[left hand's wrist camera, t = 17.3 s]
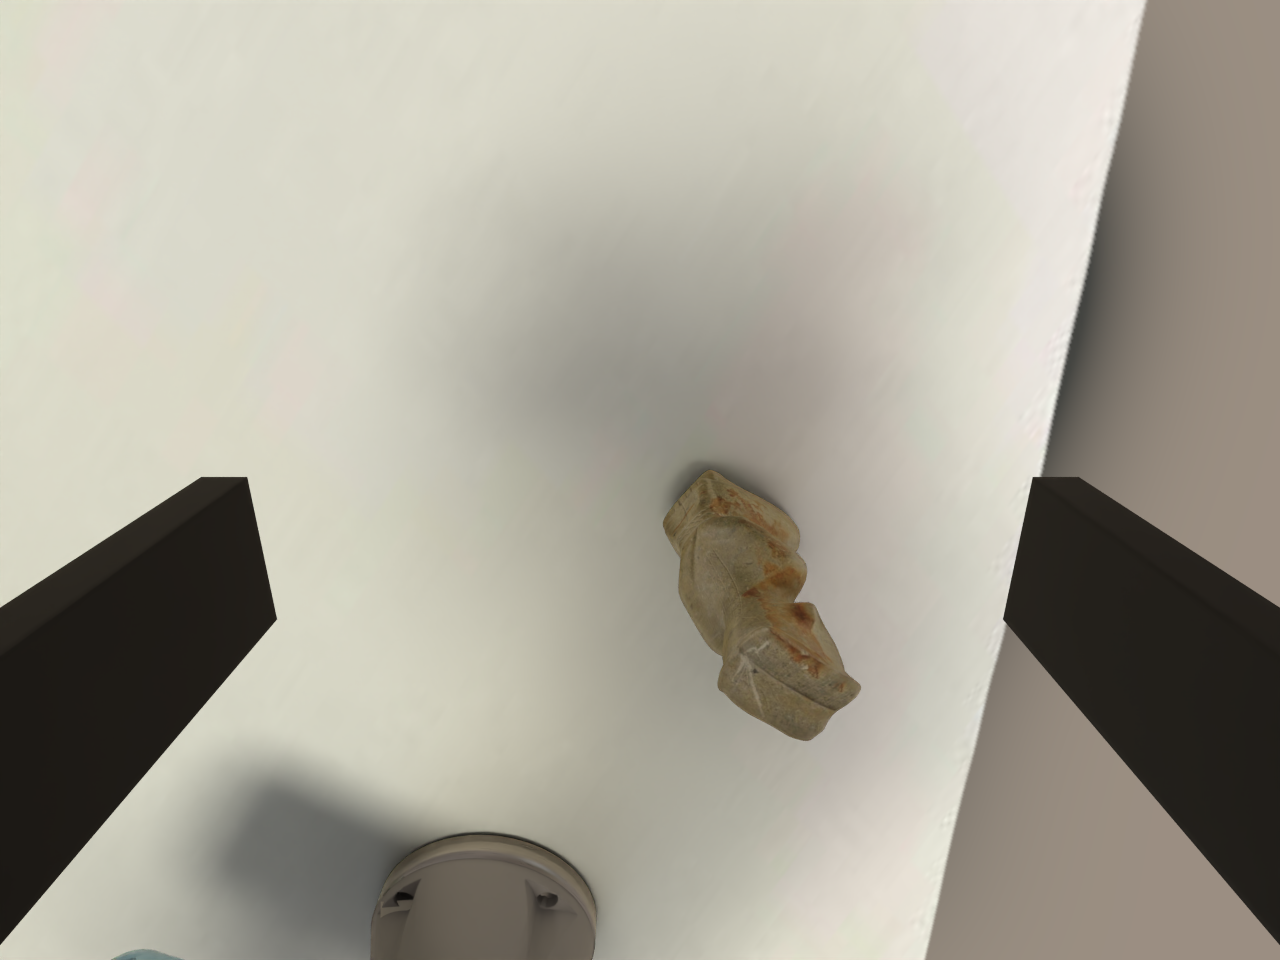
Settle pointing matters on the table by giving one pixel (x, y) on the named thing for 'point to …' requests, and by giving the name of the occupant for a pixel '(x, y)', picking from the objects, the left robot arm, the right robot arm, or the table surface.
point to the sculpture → (756, 607)
